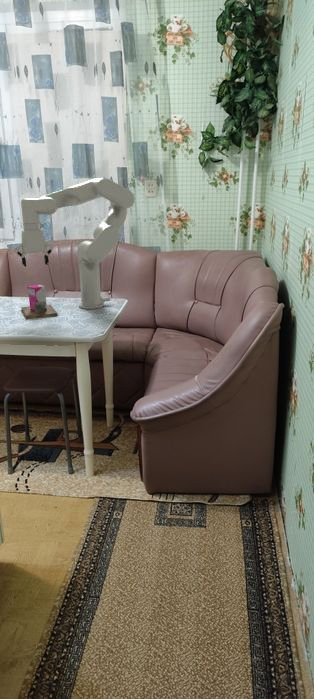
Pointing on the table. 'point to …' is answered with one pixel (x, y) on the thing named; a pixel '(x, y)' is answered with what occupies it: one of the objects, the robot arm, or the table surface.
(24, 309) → the hinge board
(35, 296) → the supplement box
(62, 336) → the table surface
